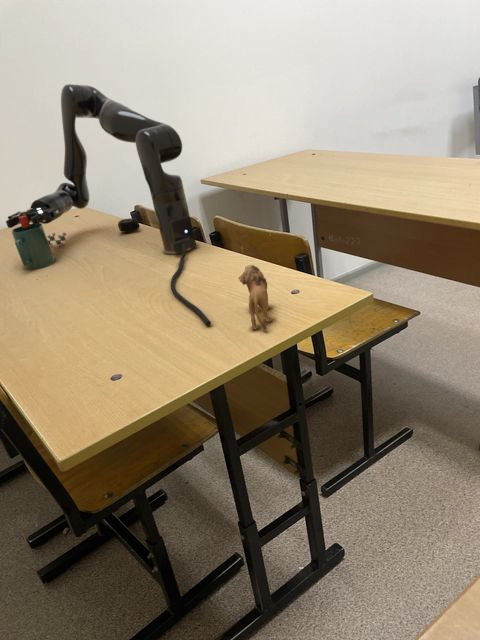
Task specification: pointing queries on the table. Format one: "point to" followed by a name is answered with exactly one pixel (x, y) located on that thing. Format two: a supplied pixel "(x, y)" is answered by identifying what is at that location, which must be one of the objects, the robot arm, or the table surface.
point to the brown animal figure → (256, 293)
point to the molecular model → (57, 240)
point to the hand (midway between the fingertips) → (20, 223)
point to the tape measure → (128, 225)
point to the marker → (24, 223)
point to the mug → (33, 247)
